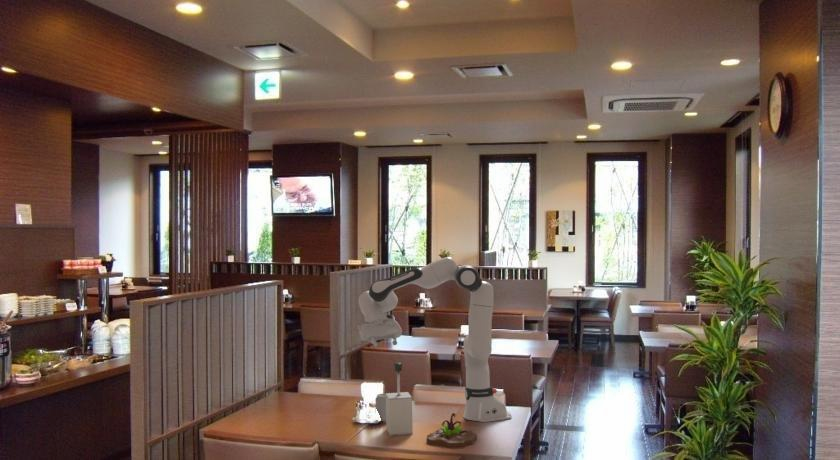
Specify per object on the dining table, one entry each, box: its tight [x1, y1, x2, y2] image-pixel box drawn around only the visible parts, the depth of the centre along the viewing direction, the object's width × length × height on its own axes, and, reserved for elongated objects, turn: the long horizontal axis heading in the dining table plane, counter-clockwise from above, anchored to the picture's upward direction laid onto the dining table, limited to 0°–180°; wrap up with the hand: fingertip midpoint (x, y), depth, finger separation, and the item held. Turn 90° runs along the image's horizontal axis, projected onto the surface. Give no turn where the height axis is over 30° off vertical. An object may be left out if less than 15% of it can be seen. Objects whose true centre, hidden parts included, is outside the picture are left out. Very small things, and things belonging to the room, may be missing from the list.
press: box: [385, 391, 414, 437], centre depth 300 cm, size 10×10×16 cm
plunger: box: [393, 362, 403, 396], centre depth 300 cm, size 8×8×21 cm
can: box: [375, 393, 386, 423], centre depth 319 cm, size 8×8×12 cm
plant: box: [425, 412, 478, 449], centre depth 287 cm, size 20×20×11 cm
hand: (386, 345), depth 309 cm, fingers open, 8 cm apart
